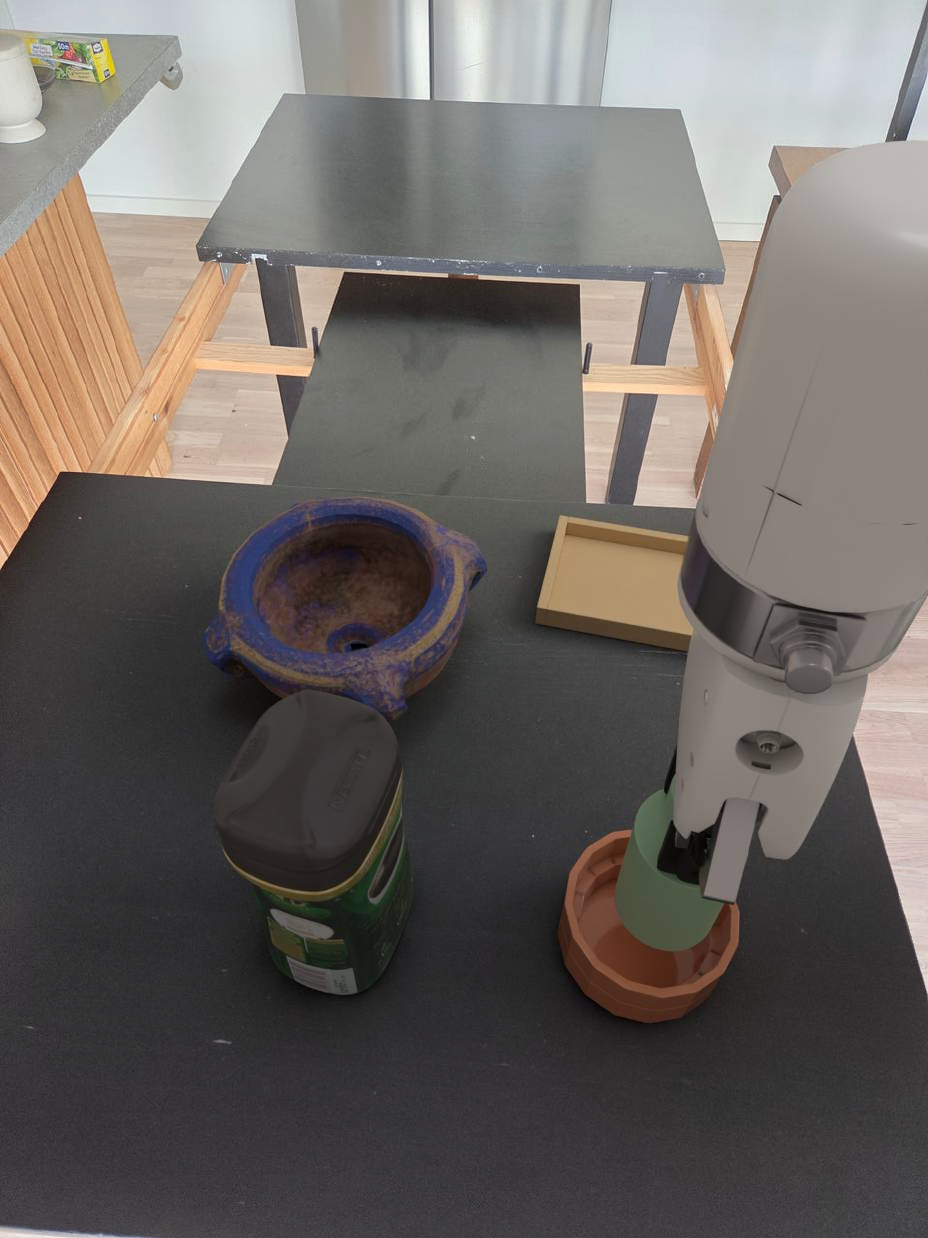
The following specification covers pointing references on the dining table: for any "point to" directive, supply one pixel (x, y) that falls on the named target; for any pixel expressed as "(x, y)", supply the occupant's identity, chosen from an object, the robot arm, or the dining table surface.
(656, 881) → the bottle
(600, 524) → the tray
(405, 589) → the bowl
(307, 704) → the coffee jar
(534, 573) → the dining table surface
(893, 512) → the robot arm
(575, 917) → the clay bowl
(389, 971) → the dining table surface
